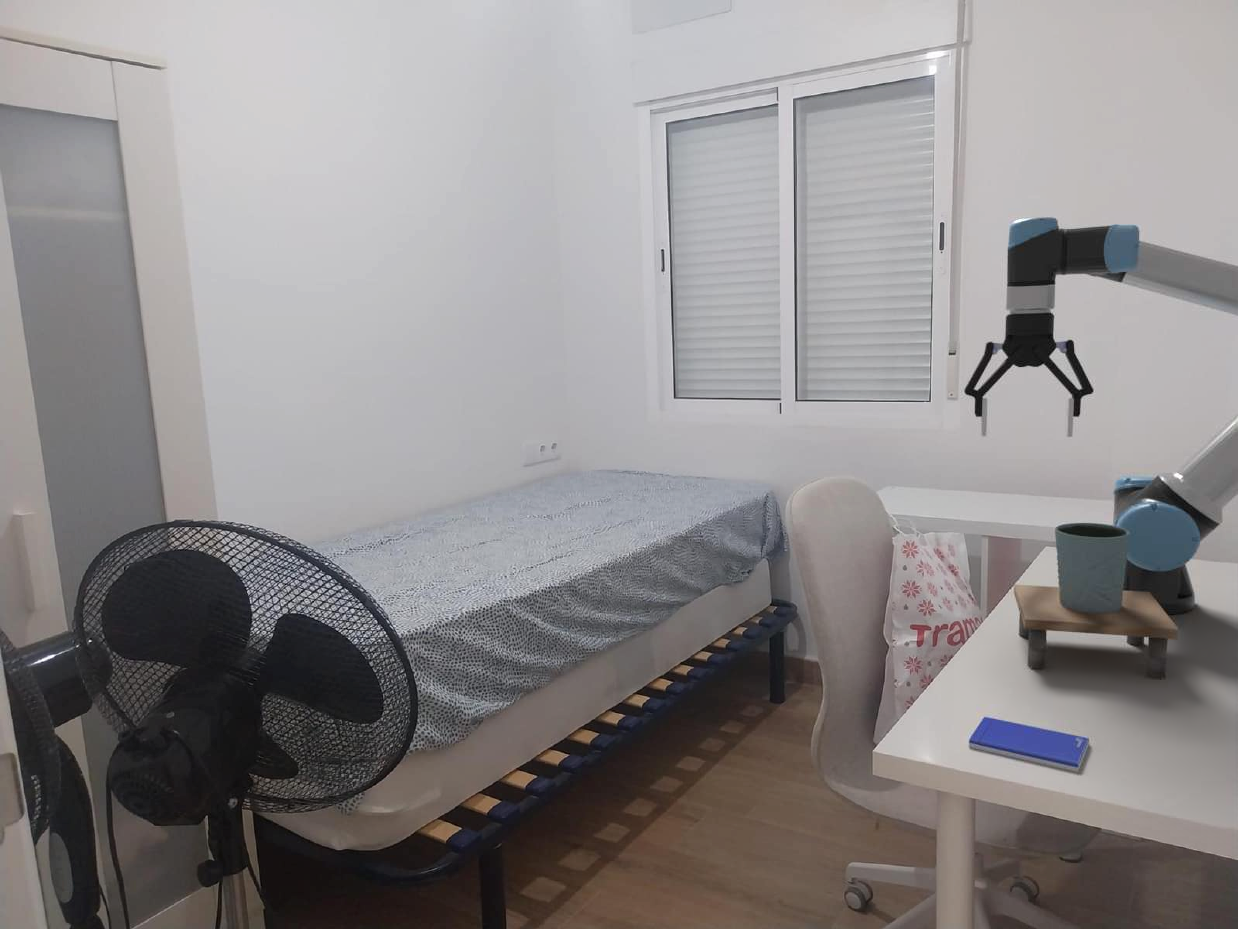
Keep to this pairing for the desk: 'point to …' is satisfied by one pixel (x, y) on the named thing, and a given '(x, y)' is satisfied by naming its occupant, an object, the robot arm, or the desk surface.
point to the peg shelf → (1095, 623)
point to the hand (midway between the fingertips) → (1025, 435)
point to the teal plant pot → (1091, 566)
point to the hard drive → (1030, 743)
